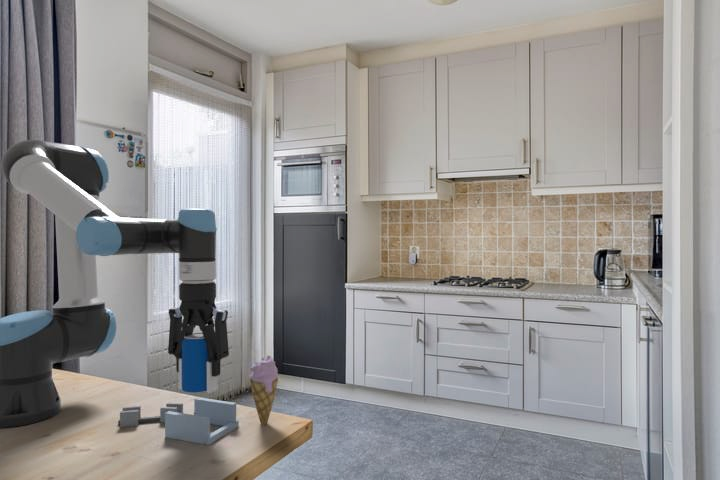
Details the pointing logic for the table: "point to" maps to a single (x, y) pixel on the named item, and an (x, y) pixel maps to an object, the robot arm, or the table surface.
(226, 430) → the end holder
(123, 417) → the clip
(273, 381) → the ice cream cone
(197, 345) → the beverage can
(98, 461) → the table surface
